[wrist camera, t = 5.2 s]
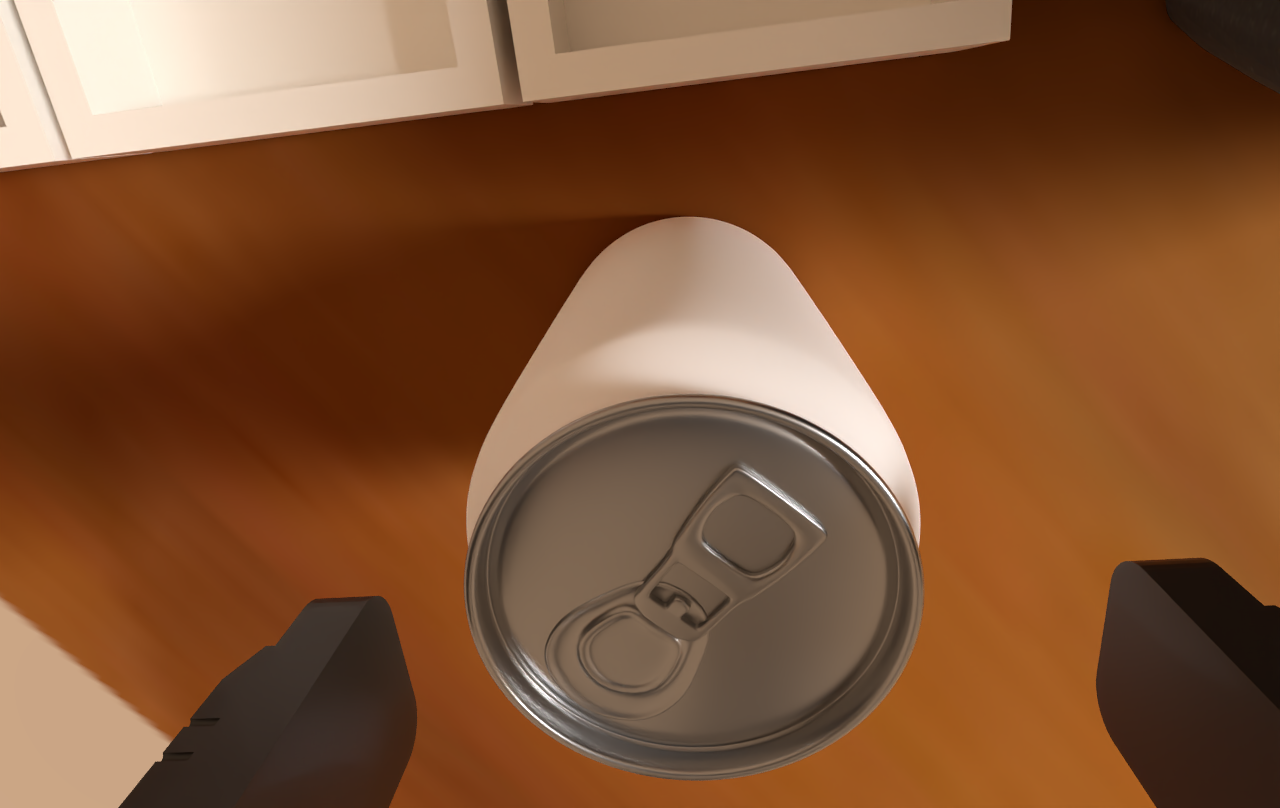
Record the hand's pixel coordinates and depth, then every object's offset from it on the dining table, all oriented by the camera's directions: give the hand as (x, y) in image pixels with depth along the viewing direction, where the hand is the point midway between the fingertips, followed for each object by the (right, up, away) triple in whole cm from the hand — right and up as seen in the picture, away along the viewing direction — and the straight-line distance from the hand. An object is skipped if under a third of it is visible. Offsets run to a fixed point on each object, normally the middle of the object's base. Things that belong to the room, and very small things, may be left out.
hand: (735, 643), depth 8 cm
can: (0, +5, +12) cm, 13 cm away
